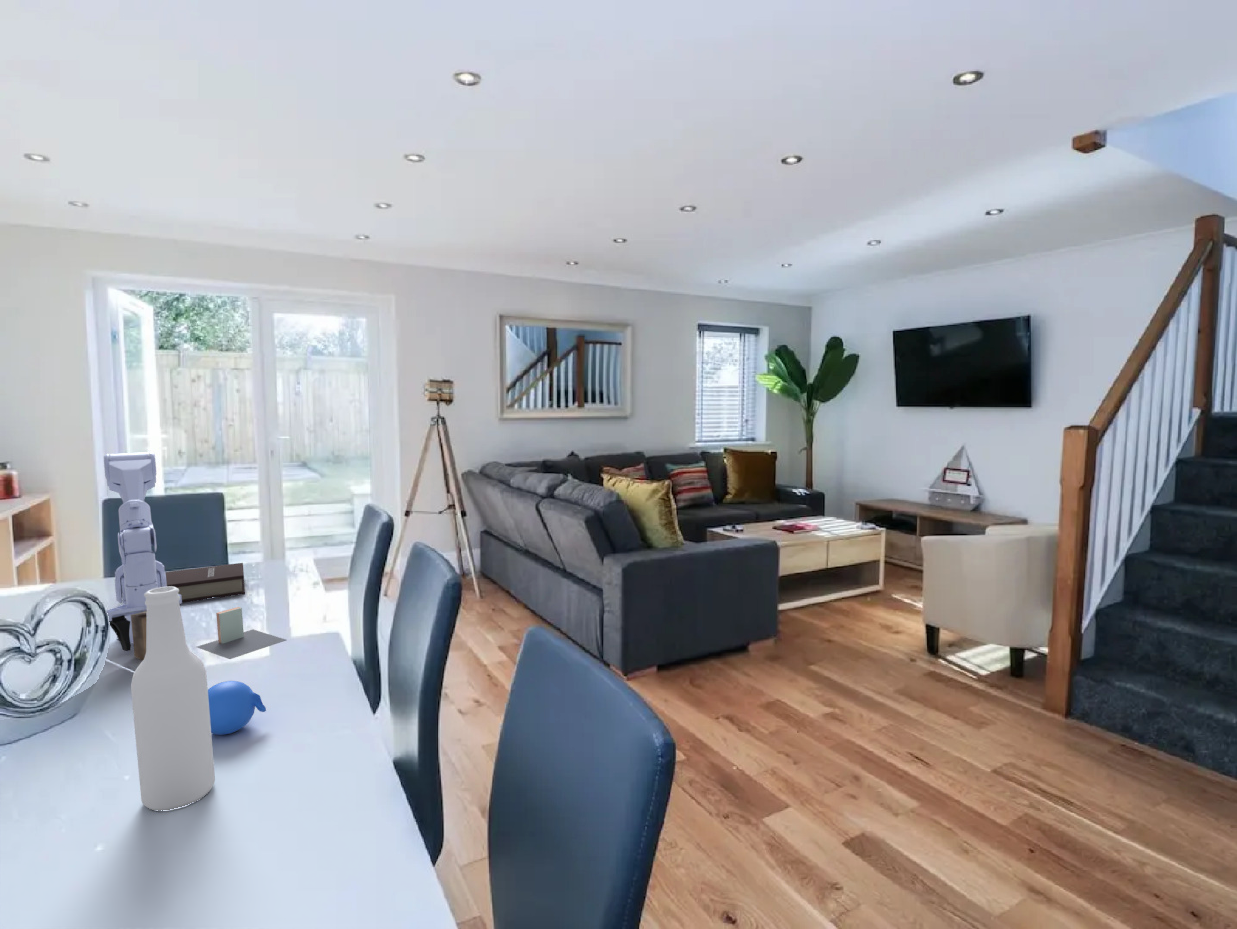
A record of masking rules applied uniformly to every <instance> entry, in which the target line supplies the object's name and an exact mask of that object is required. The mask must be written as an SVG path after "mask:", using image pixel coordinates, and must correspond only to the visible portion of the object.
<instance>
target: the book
mask: <svg viewBox="0 0 1237 929" xmlns="http://www.w3.org/2000/svg"><path fill="white" fill-rule="evenodd" d="M165 573H166V582H167V587H169V586H171V587H176V588H178V589H179V592H178V594H179V595H181V598H182V603H181V604H183V603H192V602H198V601H197V600H199V601H204V600H203V599H206V600H208V599H207V598H212V597H220V598H226V597H225V596H228V597H232V596H231V595H235V596H239V595H238V594H242V595H246V588H245V587H246V586H245V576H244V574H245V572H244V563H243V562H238V563H237V562H236V563H231V564H230V563H227V564H222V565H213V566H204V567H197V568H188V569H179V570H172V571H165ZM191 601H192V602H191Z"/></svg>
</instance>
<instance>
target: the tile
mask: <svg viewBox="0 0 1237 929" xmlns="http://www.w3.org/2000/svg"><path fill="white" fill-rule="evenodd" d="M243 619H244V618H243V608H242V607H240V606H237V607H234V608H233V607H232V608H229V609H226V610H222V611H218V612H216V626H217V638H218V639H217V640H218V641H219V643H221V644H223V643H226V642H229V641H232V640H236V639H239V638H242V637H244V632H245V631H244V620H243Z"/></svg>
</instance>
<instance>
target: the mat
mask: <svg viewBox="0 0 1237 929" xmlns="http://www.w3.org/2000/svg"><path fill="white" fill-rule="evenodd" d="M285 641H287V639H286V638H282V637H278V636H276V635H272V634H271V633H270V634H269V633H266V632H263V631H259V630H256V629H249V630H246V631H244V637H242V638H239V639H236V640H232V641H229V642H226V643H223V644H221V643H219V641H218V639H217V640H214V641H210V642H208V643H204V644H202V645H198V646H196V648H198V649H200V650H201V649H202V650H203V651H207V652H209V653H212V654H215V655H217V656H220V657H222V658H226V659H227V660H228V659H229V660H231V659H234V658H237V657H240V656H244V655H247V654H249V653H252V652H255V651H258V650H262V649H264V648H267V647H270V646H273V645H276V644H279V643H282V642H285Z"/></svg>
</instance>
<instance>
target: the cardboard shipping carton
mask: <svg viewBox="0 0 1237 929" xmlns="http://www.w3.org/2000/svg"><path fill="white" fill-rule="evenodd" d="M146 621H147V611H145V612H141V613H137V614H133V615H131V622H132V633H133V644H132V645H133V652H134V653H133V654H134V658H136V659H138V660H140V661H143V660H144V658H145V654H146Z"/></svg>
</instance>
